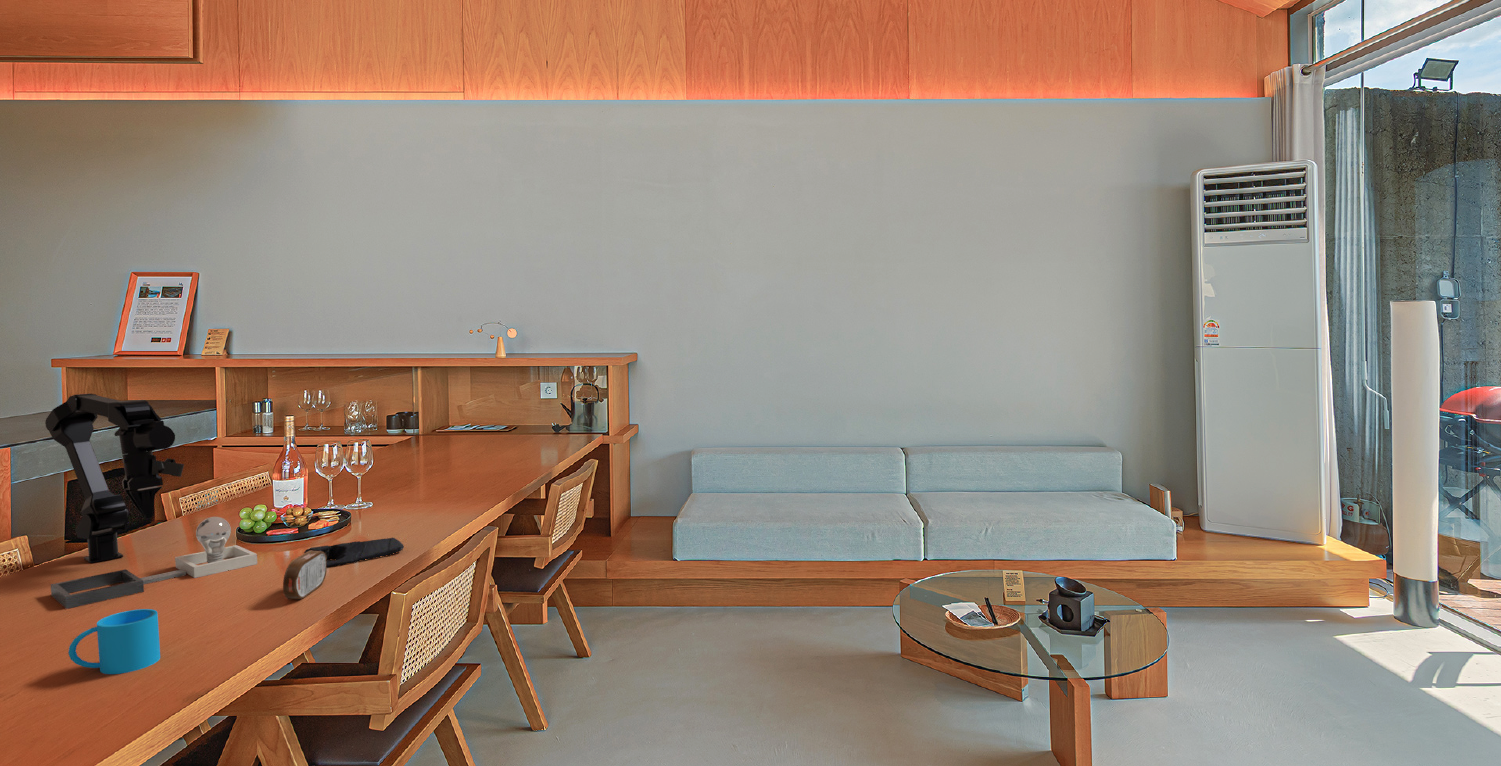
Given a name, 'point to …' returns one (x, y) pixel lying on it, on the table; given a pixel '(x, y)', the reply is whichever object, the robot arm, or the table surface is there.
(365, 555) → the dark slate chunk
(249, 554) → the collar
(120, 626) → the mug
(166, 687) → the table surface
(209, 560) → the light bulb
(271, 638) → the table surface
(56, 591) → the collar
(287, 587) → the tin
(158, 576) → the rail strip
